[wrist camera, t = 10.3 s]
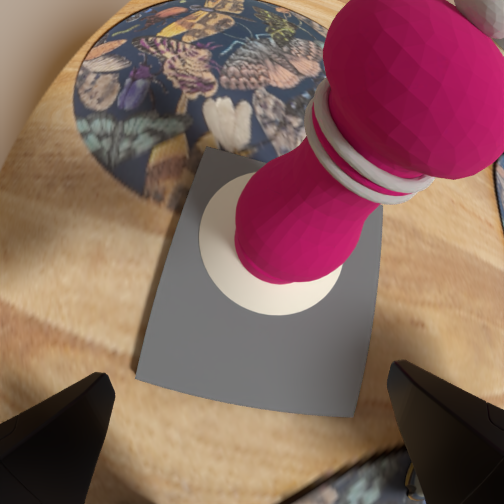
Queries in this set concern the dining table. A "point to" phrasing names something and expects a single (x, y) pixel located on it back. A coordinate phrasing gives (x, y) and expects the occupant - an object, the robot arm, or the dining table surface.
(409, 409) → the robot arm
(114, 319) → the dining table surface
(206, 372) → the mat
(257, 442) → the dining table surface
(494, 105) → the pepper mill
